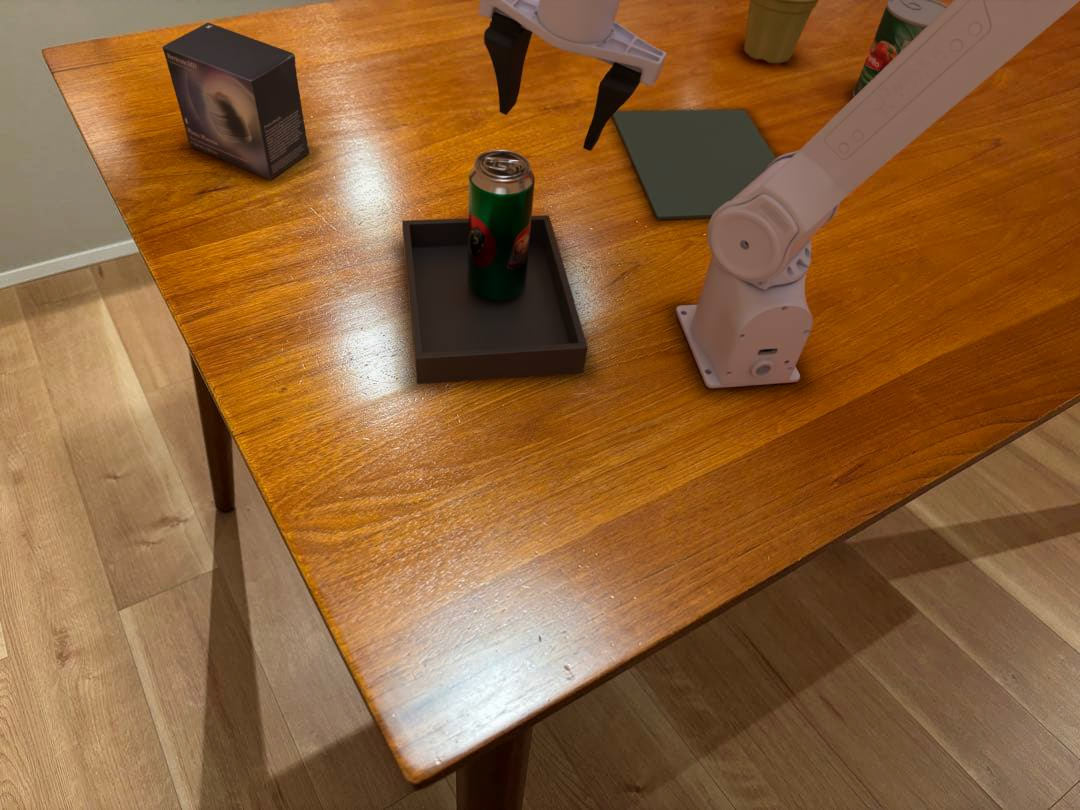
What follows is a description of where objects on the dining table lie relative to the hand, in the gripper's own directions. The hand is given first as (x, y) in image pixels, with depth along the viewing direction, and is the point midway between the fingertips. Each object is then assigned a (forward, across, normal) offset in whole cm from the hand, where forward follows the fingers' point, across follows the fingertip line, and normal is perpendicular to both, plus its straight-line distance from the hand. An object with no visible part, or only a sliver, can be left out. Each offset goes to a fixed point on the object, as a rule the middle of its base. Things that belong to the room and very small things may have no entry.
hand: (549, 125), depth 68 cm
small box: (+16, +29, +1) cm, 33 cm away
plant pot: (+11, -14, -49) cm, 52 cm away
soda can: (+11, -1, +9) cm, 14 cm away
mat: (+10, -13, -20) cm, 26 cm away
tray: (+11, -1, +12) cm, 16 cm away
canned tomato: (+9, -29, -44) cm, 54 cm away
